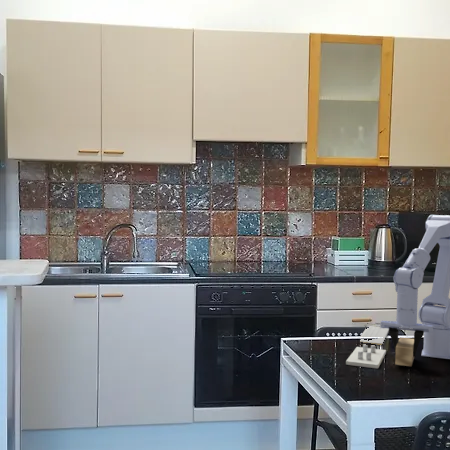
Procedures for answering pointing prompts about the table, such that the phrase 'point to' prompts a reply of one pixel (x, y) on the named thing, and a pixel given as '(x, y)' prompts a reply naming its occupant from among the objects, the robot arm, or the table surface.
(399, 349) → the tan block
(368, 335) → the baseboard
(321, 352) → the table surface
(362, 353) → the peg rack
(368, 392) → the table surface
